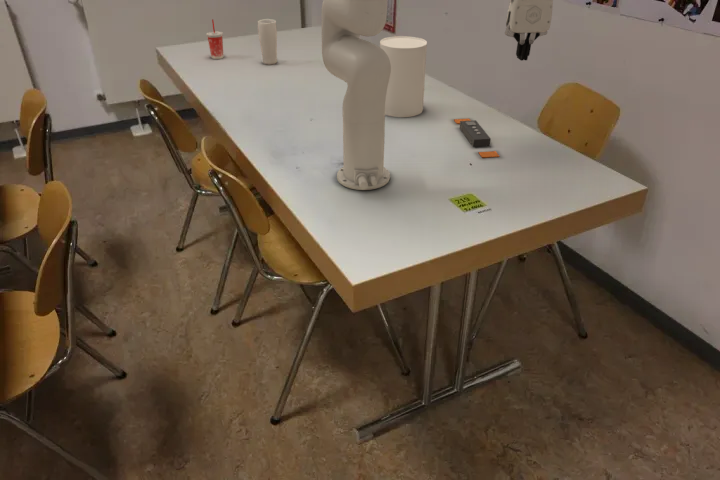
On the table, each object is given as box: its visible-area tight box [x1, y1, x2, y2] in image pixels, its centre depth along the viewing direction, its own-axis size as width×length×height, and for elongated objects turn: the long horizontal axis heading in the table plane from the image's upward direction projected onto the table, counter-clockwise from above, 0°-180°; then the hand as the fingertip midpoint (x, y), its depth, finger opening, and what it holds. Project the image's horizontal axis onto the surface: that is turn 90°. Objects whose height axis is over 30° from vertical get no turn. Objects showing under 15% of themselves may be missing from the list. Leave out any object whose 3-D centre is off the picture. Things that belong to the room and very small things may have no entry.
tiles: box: [453, 118, 500, 159], centre depth 157 cm, size 26×5×1 cm, turn 8°
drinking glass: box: [257, 18, 278, 65], centre depth 211 cm, size 7×7×15 cm
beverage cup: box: [205, 18, 225, 60], centre depth 217 cm, size 6×6×14 cm
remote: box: [459, 120, 492, 148], centre depth 157 cm, size 13×5×2 cm, turn 8°
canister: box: [379, 35, 428, 118], centre depth 170 cm, size 14×14×20 cm
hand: (521, 58), depth 147 cm, fingers closed
